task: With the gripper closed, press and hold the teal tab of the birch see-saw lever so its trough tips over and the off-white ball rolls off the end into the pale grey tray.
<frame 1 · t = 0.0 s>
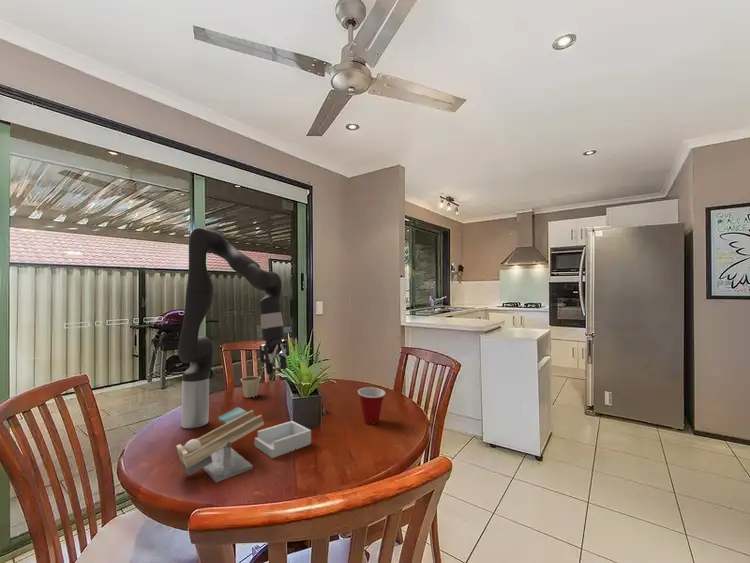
hand: (277, 371, 120), 22 cm above the table, tool pointing down, fingers open, 8 cm apart
flower pot: (250, 396, 166), on the table
lever stand: (223, 465, 98), on the table
tray: (282, 444, 112), on the table
plastic cup: (371, 422, 132), on the table
lever: (216, 432, 103), point 8 cm above the table, hinge at 15.0°, touching ball
build plate: (318, 413, 143), on the table
ball: (192, 447, 93), point 8 cm above the table, tilted 12°, touching lever
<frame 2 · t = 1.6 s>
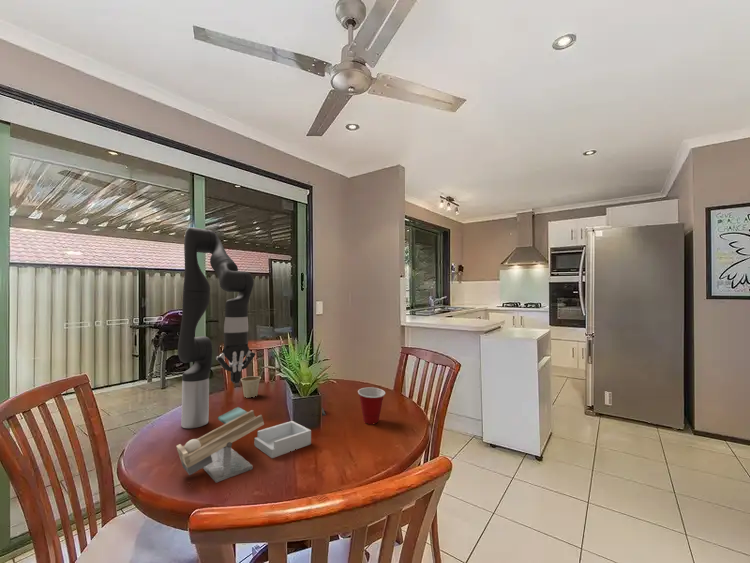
hand: (235, 382, 112), 20 cm above the table, tool pointing down, fingers closed
nothing on the table moved.
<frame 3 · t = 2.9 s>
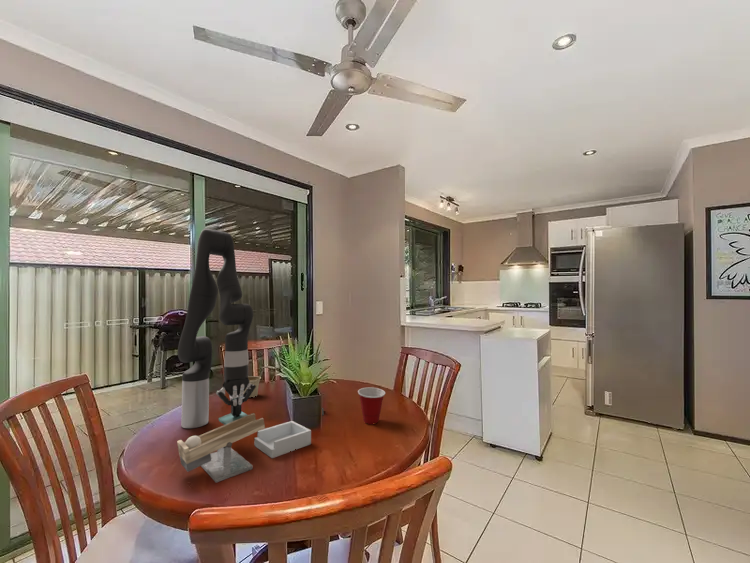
hand: (236, 416, 112), 9 cm above the table, tool pointing down, fingers closed
lever: (216, 432, 103), point 8 cm above the table, hinge at 9.0°, touching ball, gripper
ball: (193, 443, 93), point 9 cm above the table, tilted 6°, touching lever
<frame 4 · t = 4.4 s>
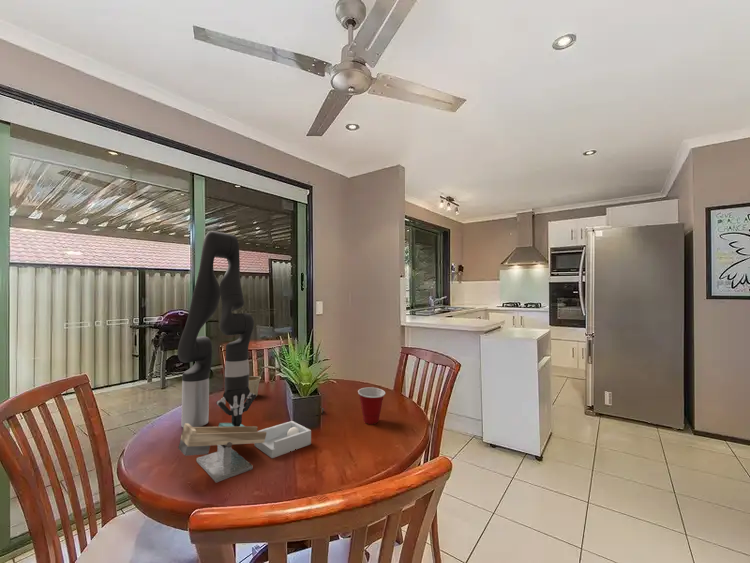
hand: (236, 425, 112), 6 cm above the table, tool pointing down, fingers closed
lever: (217, 432, 103), point 8 cm above the table, hinge at -14.3°, touching gripper
ball: (293, 433, 115), point 3 cm above the table, tilted 148°, touching tray
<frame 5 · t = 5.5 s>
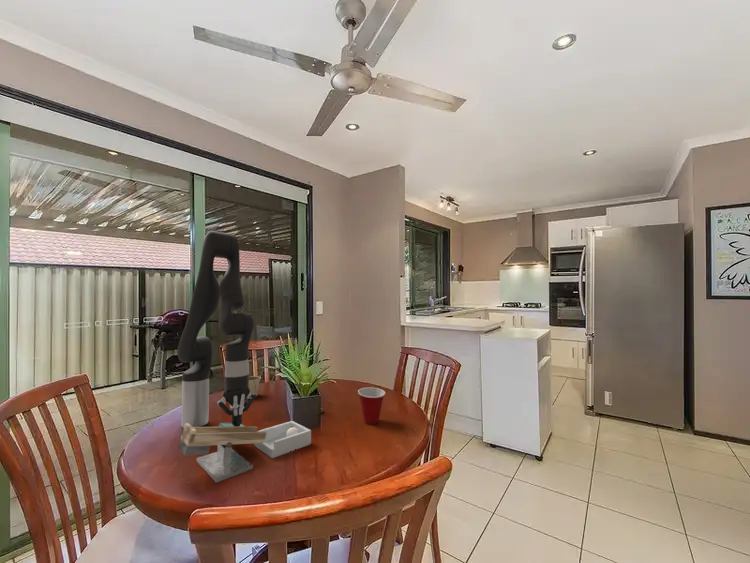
hand: (236, 425, 112), 6 cm above the table, tool pointing down, fingers closed
ball: (292, 433, 114), point 3 cm above the table, tilted 159°, touching tray
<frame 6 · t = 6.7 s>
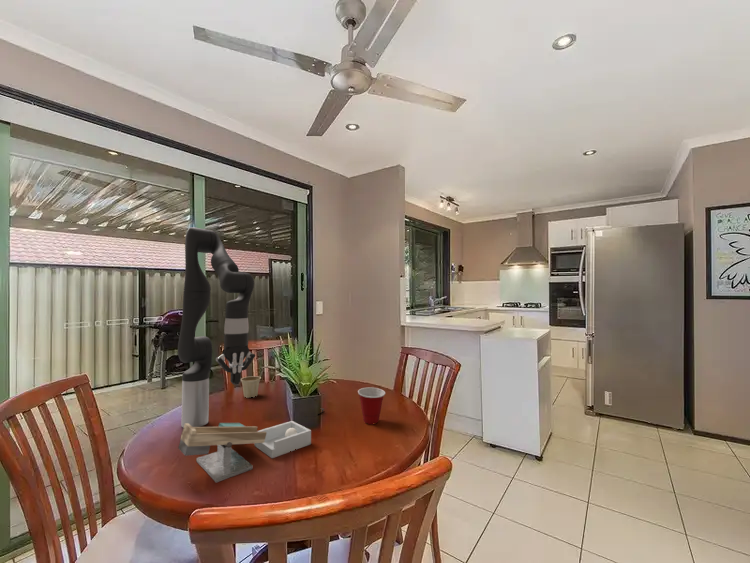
hand: (235, 383, 112), 20 cm above the table, tool pointing down, fingers closed
lever: (217, 432, 103), point 8 cm above the table, hinge at -14.4°
ball: (291, 434, 114), point 3 cm above the table, tilted 171°, touching tray
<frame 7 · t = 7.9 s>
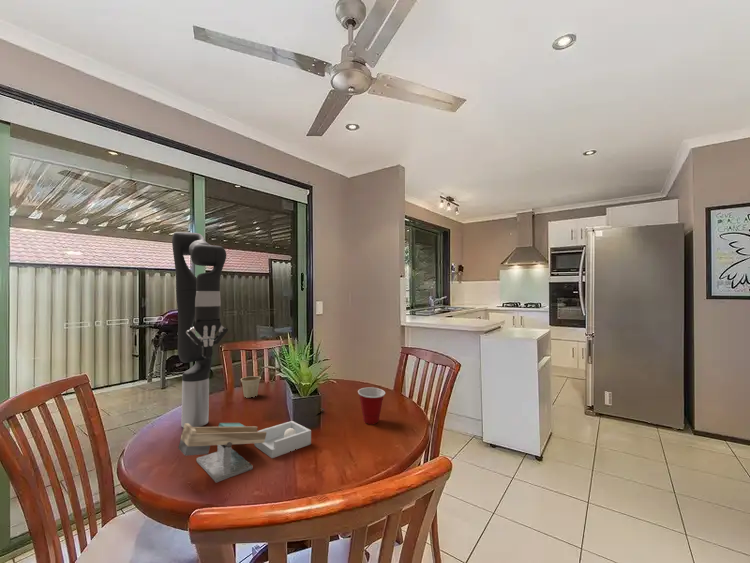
hand: (206, 357, 111), 29 cm above the table, tool pointing down, fingers closed
ball: (290, 434, 114), point 3 cm above the table, tilted 176°, touching tray
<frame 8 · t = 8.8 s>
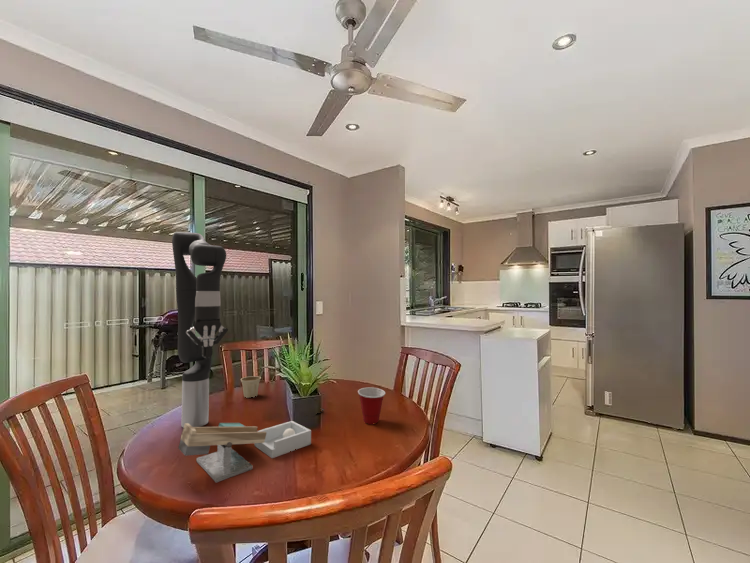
hand: (206, 357, 111), 29 cm above the table, tool pointing down, fingers closed
ball: (289, 434, 114), point 3 cm above the table, tilted 167°, touching tray
at the end: ball inside the target area (2.3 cm from its centre), point 2.6 cm above the table; ball moved 29.9 cm from its start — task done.
